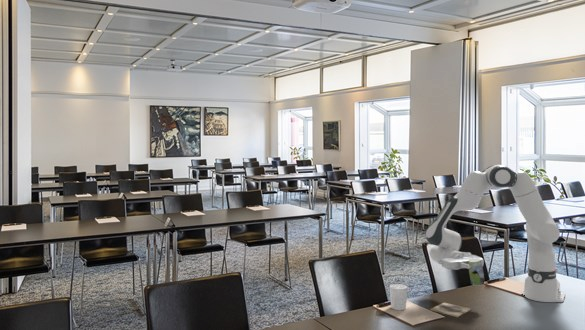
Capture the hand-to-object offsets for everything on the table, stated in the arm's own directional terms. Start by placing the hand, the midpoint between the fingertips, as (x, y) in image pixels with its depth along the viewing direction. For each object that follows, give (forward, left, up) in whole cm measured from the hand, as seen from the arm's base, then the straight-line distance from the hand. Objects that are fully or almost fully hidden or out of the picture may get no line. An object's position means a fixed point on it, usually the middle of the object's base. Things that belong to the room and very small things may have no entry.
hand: (473, 266), depth 219 cm
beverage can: (-3, 0, -9) cm, 10 cm away
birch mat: (+10, -6, -19) cm, 22 cm away
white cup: (+24, -25, -19) cm, 39 cm away
